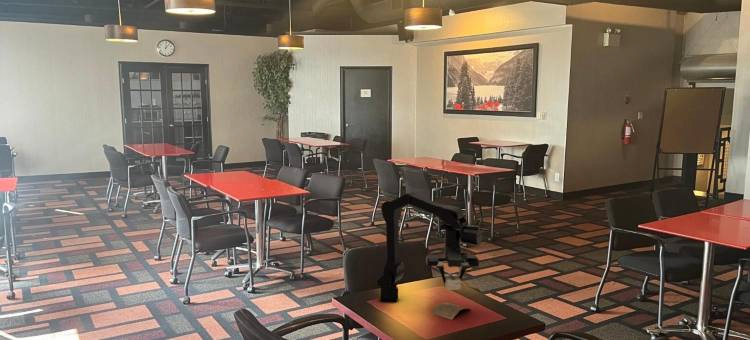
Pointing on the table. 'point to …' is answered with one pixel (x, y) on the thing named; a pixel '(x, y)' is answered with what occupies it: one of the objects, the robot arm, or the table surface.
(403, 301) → the table surface
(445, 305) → the clay tablet
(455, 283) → the taped cardboard box
